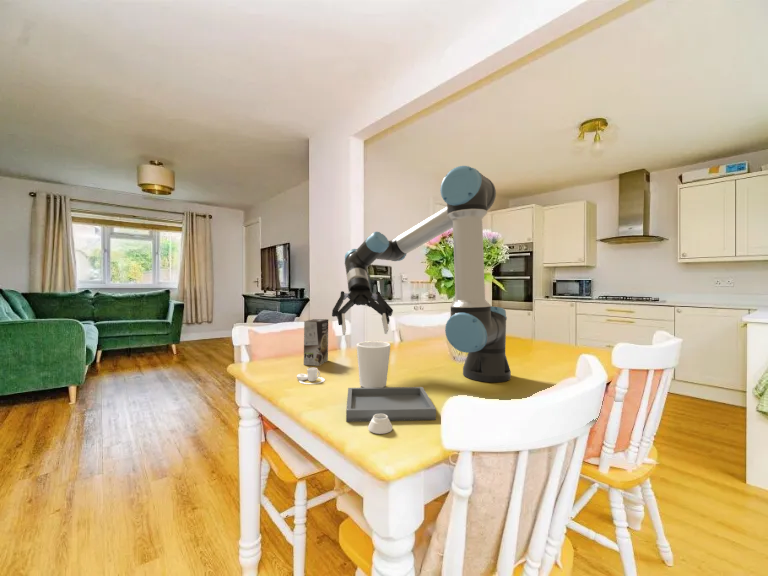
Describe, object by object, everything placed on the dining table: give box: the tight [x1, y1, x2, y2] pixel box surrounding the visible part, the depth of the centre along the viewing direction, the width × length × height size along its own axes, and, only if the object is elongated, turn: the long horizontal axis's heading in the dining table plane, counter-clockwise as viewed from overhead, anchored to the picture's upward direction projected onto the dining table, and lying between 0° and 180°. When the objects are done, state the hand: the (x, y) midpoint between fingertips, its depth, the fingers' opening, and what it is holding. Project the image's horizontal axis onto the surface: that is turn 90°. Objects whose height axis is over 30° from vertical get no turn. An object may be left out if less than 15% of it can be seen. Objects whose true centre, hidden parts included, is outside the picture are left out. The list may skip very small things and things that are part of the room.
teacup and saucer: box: [296, 366, 326, 385], centre depth 107 cm, size 9×8×4 cm
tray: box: [345, 386, 437, 423], centre depth 84 cm, size 20×16×2 cm
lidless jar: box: [367, 414, 393, 435], centre depth 72 cm, size 5×3×5 cm
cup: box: [356, 340, 391, 388], centre depth 100 cm, size 10×10×13 cm
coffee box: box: [303, 318, 329, 367], centre depth 129 cm, size 9×6×16 cm
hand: (365, 331), depth 109 cm, fingers open, 13 cm apart
